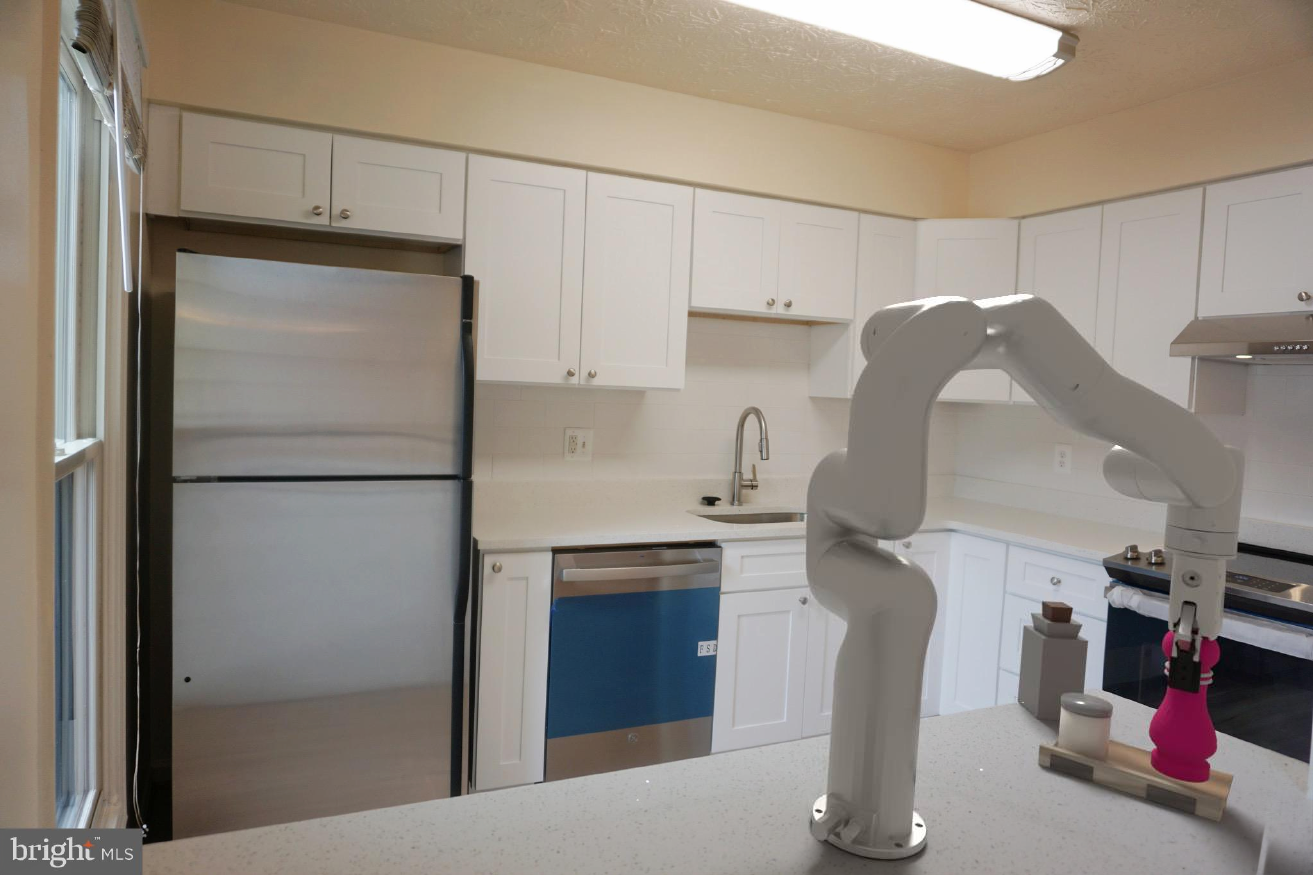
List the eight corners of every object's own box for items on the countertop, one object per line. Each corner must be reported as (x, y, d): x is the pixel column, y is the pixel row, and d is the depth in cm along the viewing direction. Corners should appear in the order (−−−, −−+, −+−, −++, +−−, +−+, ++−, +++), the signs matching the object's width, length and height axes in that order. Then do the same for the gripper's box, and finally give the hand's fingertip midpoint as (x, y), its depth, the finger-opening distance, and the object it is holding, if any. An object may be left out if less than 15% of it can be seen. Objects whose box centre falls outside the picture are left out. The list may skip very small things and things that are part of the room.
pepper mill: (1159, 780, 98) (1174, 621, 97) (1136, 754, 105) (1150, 605, 104) (1225, 789, 96) (1240, 627, 95) (1197, 762, 103) (1211, 611, 102)
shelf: (1219, 830, 93) (1222, 801, 93) (1036, 771, 106) (1039, 745, 106) (1232, 782, 105) (1235, 757, 105) (1067, 734, 118) (1069, 711, 118)
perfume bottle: (1080, 727, 121) (1090, 611, 120) (1036, 724, 121) (1045, 609, 120) (1059, 709, 128) (1068, 599, 127) (1017, 707, 128) (1025, 597, 127)
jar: (1102, 774, 104) (1107, 714, 103) (1051, 758, 108) (1055, 700, 107) (1112, 759, 108) (1117, 702, 108) (1062, 744, 112) (1067, 689, 112)
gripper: (1230, 556, 90) (1215, 711, 91) (1243, 539, 103) (1230, 674, 104) (1153, 545, 95) (1140, 692, 96) (1175, 530, 108) (1163, 660, 109)
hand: (1187, 682), depth 100 cm, fingers closed on pepper mill, 5 cm apart
